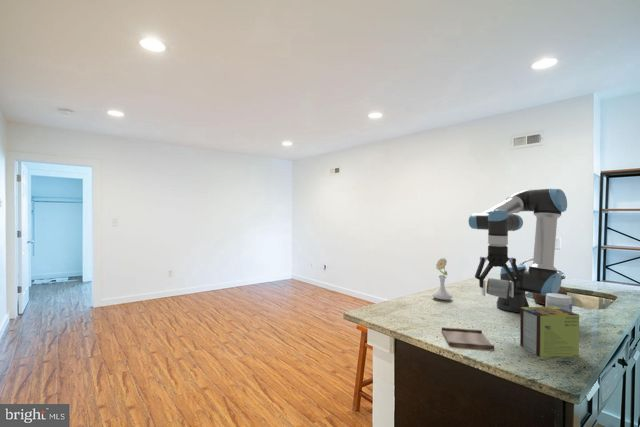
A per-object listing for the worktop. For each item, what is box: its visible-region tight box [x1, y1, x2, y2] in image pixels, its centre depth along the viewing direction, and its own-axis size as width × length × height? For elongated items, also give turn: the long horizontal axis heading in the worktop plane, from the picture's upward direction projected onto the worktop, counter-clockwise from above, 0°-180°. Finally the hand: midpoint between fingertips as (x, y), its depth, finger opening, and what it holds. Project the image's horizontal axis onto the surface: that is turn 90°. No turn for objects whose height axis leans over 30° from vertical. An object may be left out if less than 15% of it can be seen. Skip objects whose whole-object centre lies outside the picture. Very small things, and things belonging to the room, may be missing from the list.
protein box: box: [519, 306, 580, 358], centre depth 119 cm, size 10×15×16 cm
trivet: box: [441, 326, 495, 350], centre depth 128 cm, size 16×16×2 cm
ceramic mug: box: [485, 277, 509, 299], centre depth 136 cm, size 11×8×8 cm
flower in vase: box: [432, 257, 453, 301], centre depth 188 cm, size 13×11×25 cm
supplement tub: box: [545, 293, 573, 312], centre depth 143 cm, size 10×10×15 cm
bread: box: [531, 286, 568, 306], centre depth 190 cm, size 16×36×8 cm, turn 136°
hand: (497, 295), depth 137 cm, fingers closed on ceramic mug, 10 cm apart
